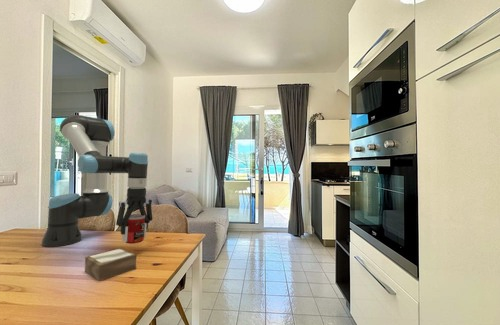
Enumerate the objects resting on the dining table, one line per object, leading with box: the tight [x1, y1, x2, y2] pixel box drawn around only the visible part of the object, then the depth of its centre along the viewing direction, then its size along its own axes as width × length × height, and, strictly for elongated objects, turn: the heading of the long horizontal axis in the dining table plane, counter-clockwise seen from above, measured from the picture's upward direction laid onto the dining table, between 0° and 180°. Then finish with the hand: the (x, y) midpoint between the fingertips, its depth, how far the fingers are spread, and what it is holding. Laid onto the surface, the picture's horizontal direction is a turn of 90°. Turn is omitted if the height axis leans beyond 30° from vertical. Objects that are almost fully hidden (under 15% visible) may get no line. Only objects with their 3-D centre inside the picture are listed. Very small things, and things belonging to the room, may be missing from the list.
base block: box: [84, 248, 137, 282], centre depth 82 cm, size 12×12×5 cm
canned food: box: [125, 213, 145, 245], centre depth 100 cm, size 8×8×11 cm
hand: (134, 239), depth 100 cm, fingers closed on canned food, 8 cm apart
